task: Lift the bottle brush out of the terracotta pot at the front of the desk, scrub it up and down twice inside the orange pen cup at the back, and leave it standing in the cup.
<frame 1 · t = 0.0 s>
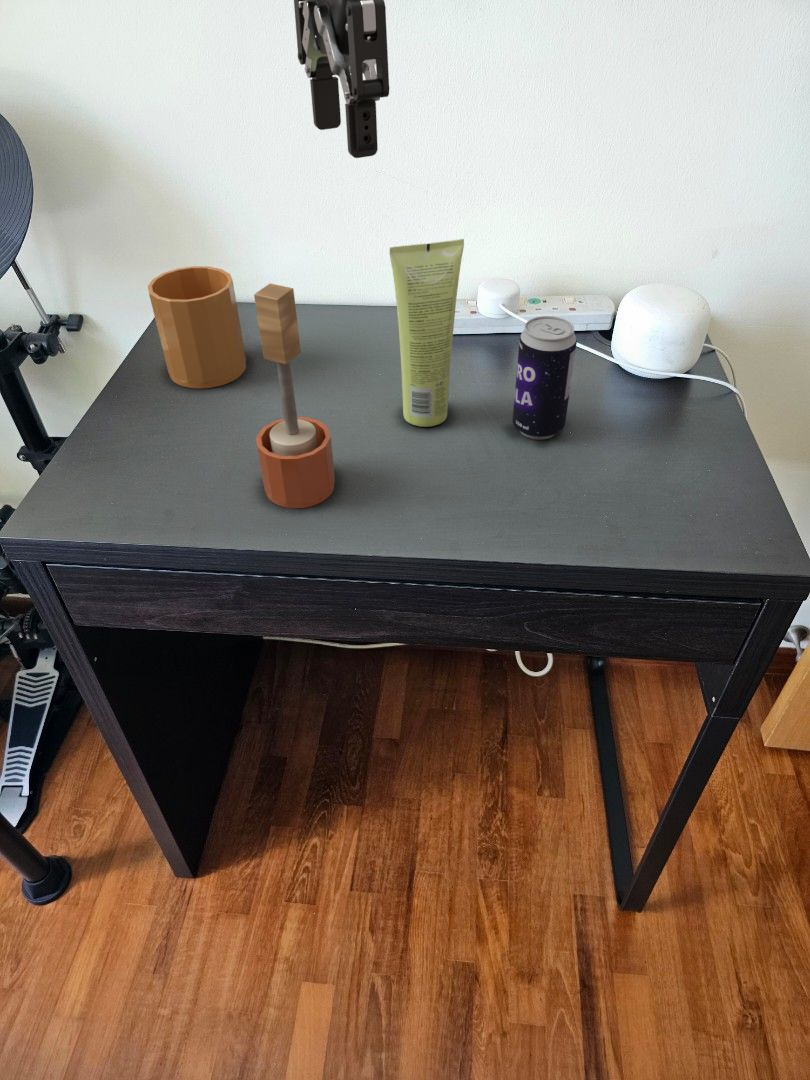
hand: (344, 141, 65), 30 cm above the table, tool pointing down, fingers open, 8 cm apart
tube: (427, 417, 89), on the table
orange pen cup: (208, 368, 97), on the table
brush: (299, 481, 79), point 1 cm above the table, touching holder
beverage can: (537, 430, 86), on the table
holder: (300, 486, 79), on the table
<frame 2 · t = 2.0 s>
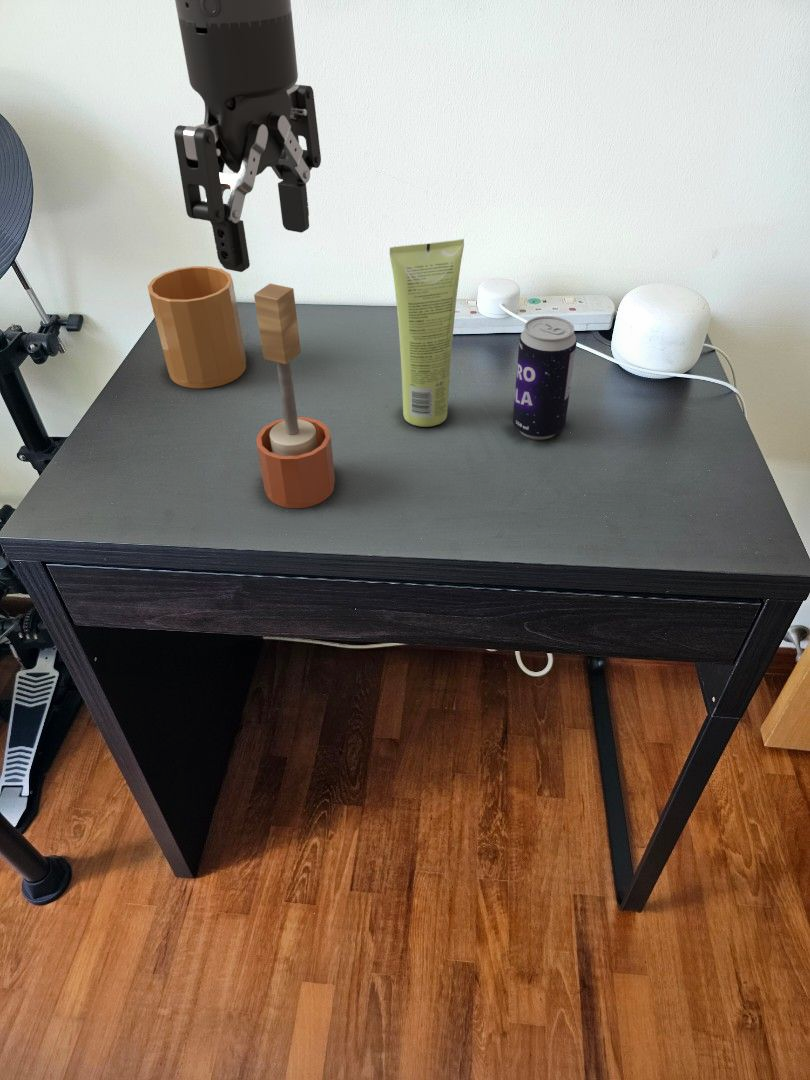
hand: (267, 248, 63), 24 cm above the table, tool pointing down, fingers open, 8 cm apart
nothing on the table moved.
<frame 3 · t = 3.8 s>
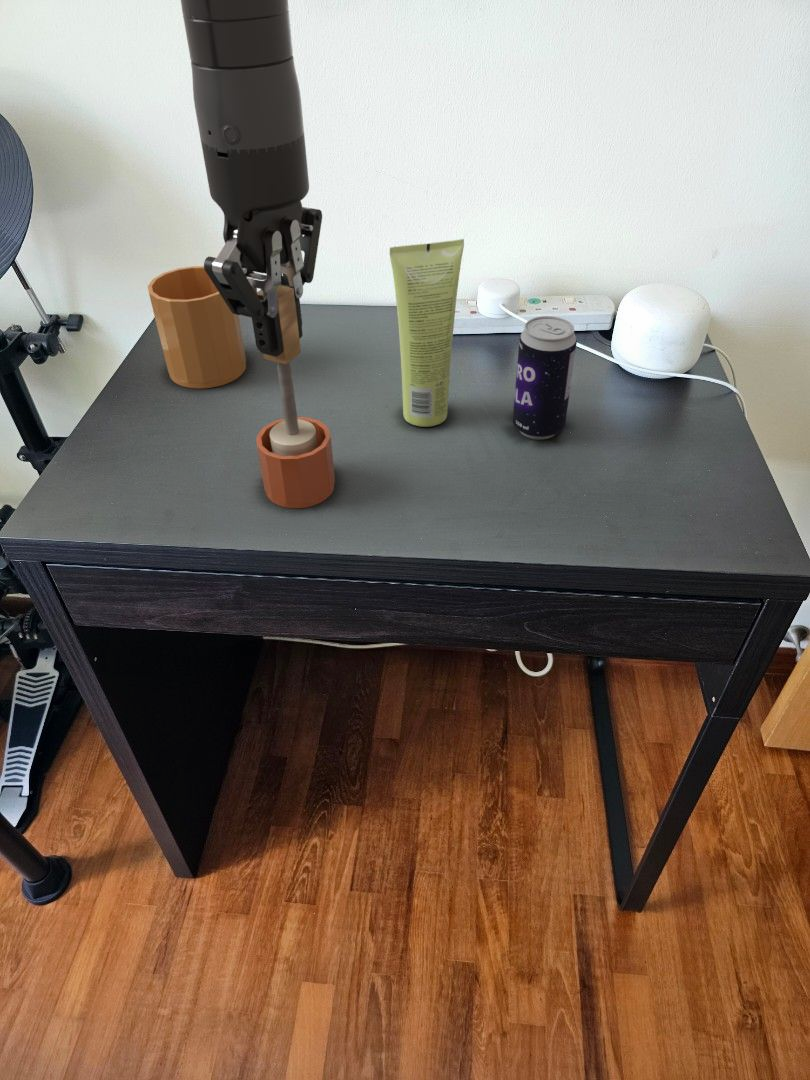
hand: (280, 344, 69), 16 cm above the table, tool pointing down, fingers closed on brush, 2 cm apart
brush: (299, 481, 79), point 1 cm above the table, touching gripper, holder
everything else where it was.
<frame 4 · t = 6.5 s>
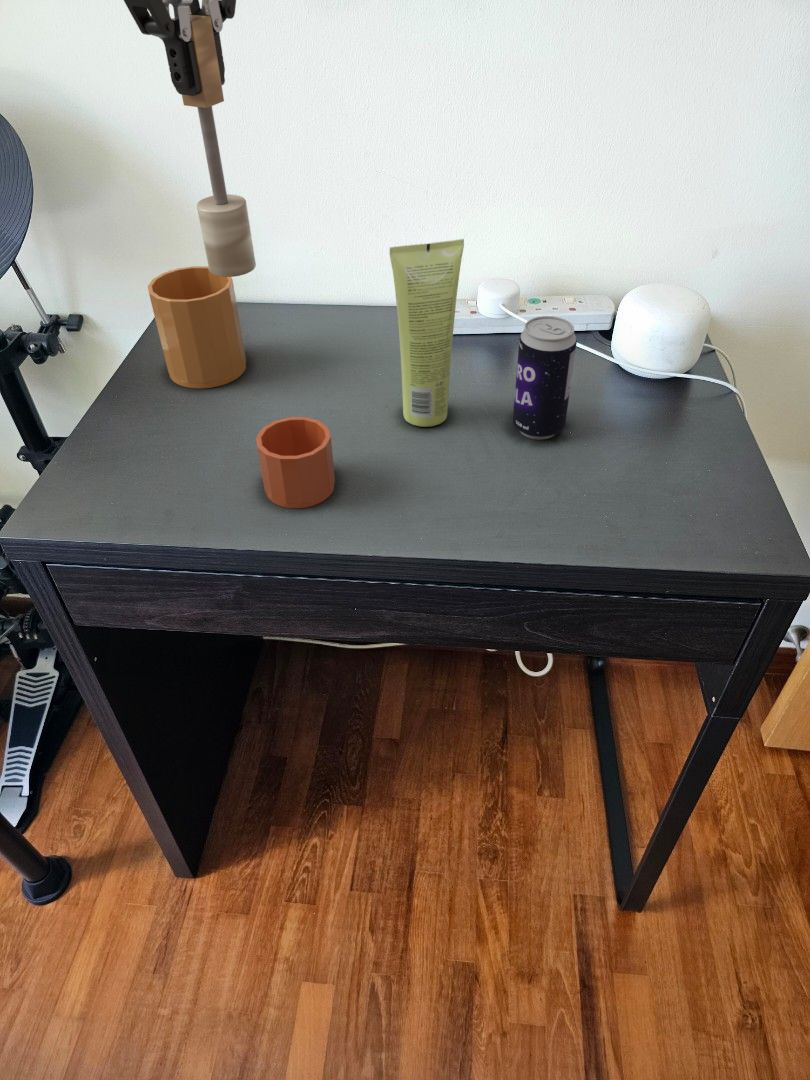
hand: (201, 88, 65), 33 cm above the table, tool pointing down, fingers closed on brush, 2 cm apart
brush: (232, 267, 75), point 18 cm above the table, touching gripper
everything else where it was.
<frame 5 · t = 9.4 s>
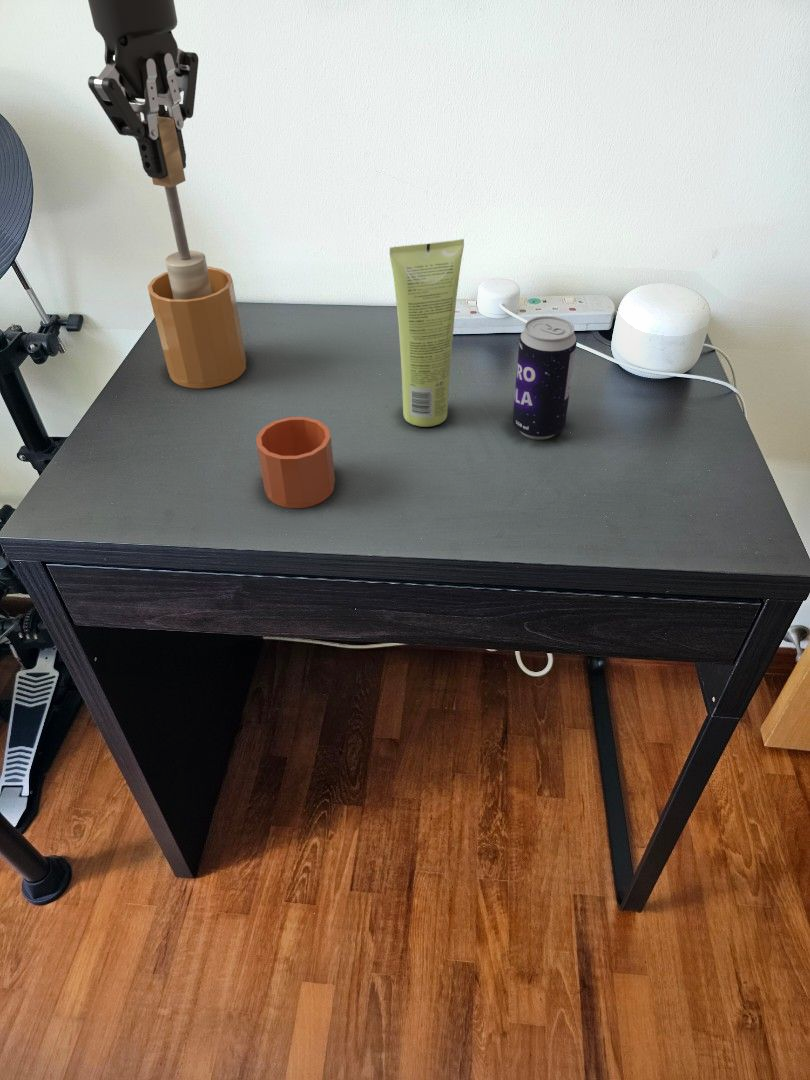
hand: (167, 172, 82), 23 cm above the table, tool pointing down, fingers closed on brush, 2 cm apart
brush: (195, 308, 92), point 8 cm above the table, touching gripper
everything else where it was.
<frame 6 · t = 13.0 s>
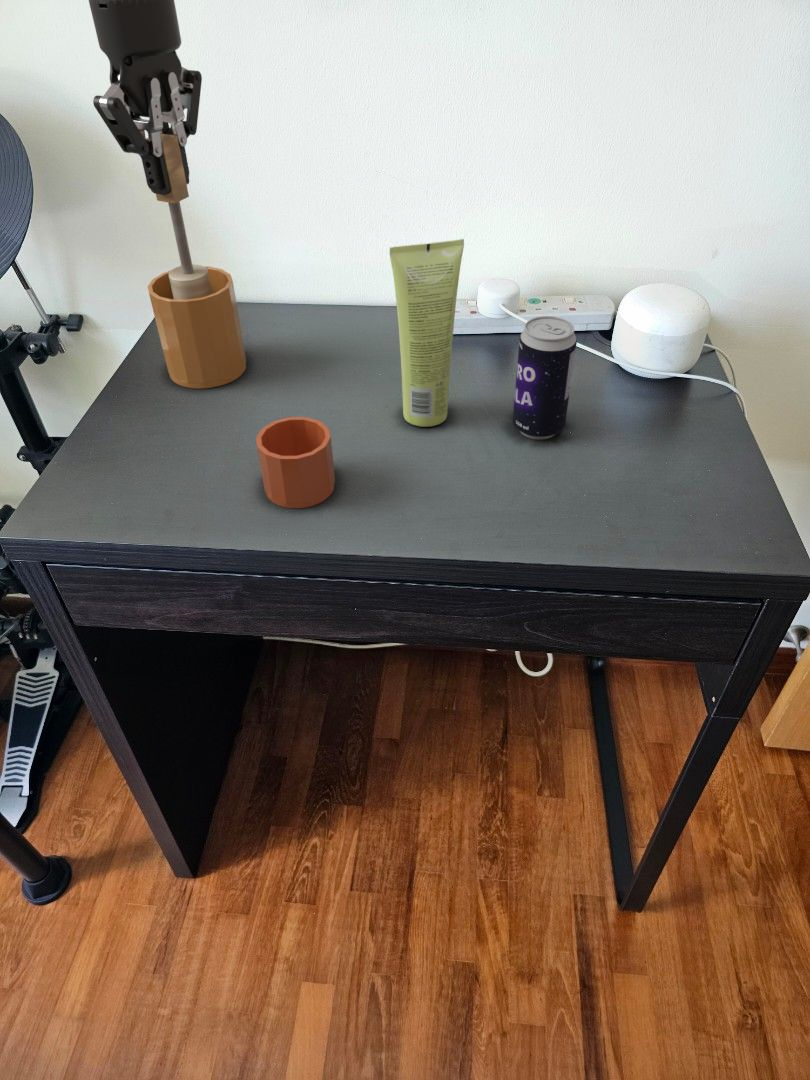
hand: (170, 188, 83), 21 cm above the table, tool pointing down, fingers closed on brush, 2 cm apart
brush: (198, 321, 93), point 6 cm above the table, touching gripper
everything else where it was.
when the fingers open (16 cm above the table, at t = 15.5 s): brush stays where it is, resting on orange pen cup.
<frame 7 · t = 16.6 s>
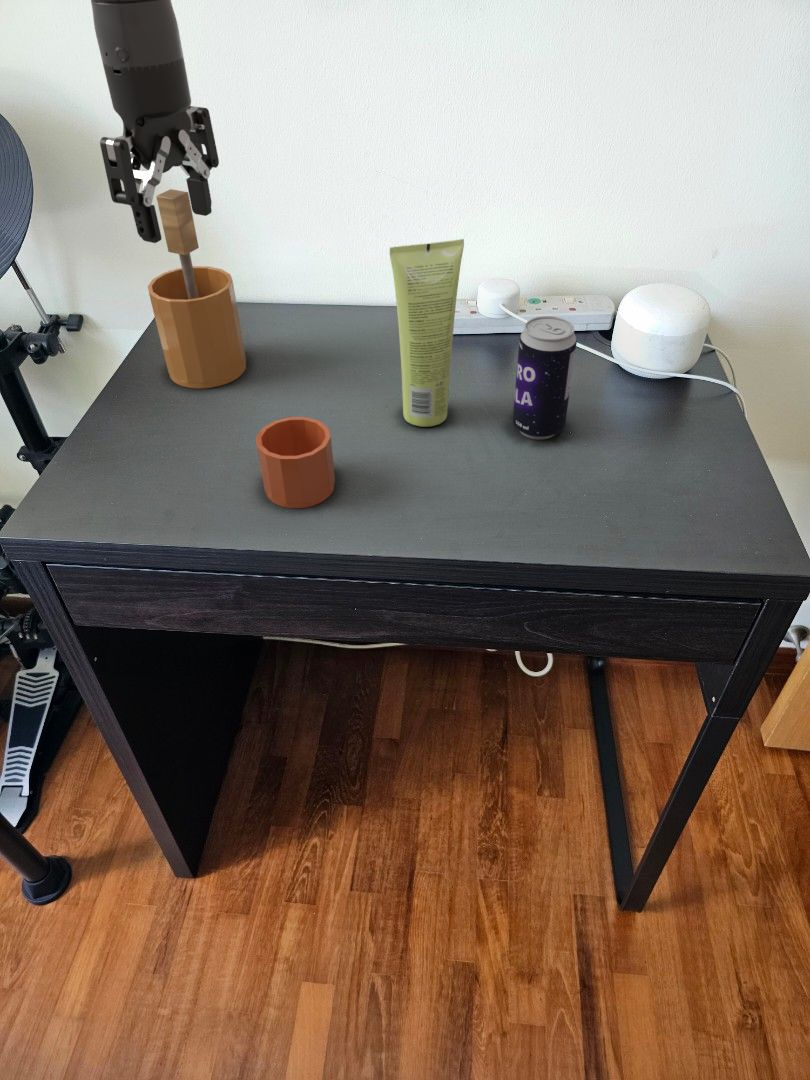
hand: (178, 227, 86), 17 cm above the table, tool pointing down, fingers open, 8 cm apart
brush: (207, 363, 97), point 1 cm above the table, touching orange pen cup
everything else where it was.
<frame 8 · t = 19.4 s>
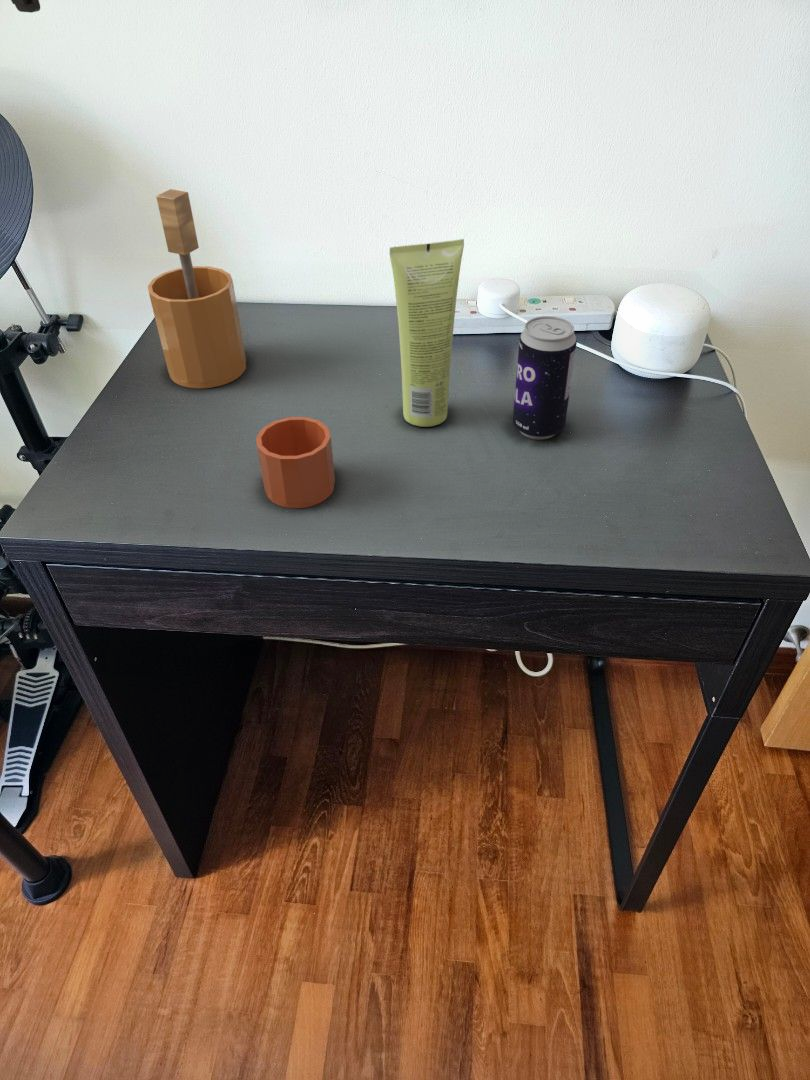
hand: (66, 3, 70), 38 cm above the table, tool pointing down, fingers open, 8 cm apart
nothing on the table moved.
at the end: brush 0.0 cm off-centre in the orange pen cup, point 0.8 cm above the orange pen cup's base; brush tilted 0°; the gripper is holding nothing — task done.
